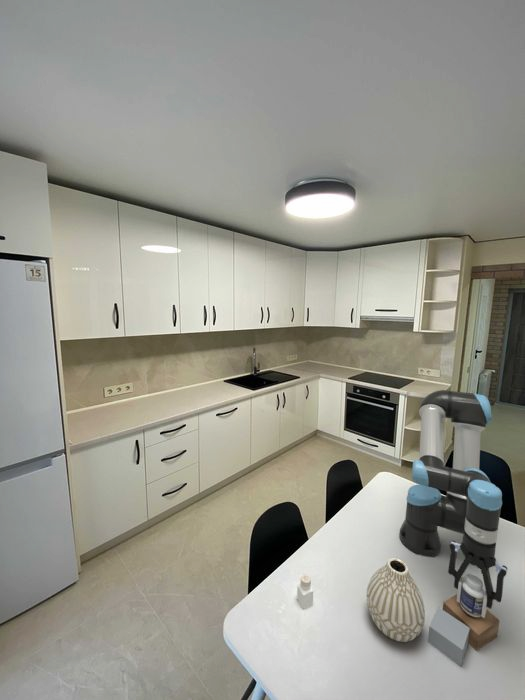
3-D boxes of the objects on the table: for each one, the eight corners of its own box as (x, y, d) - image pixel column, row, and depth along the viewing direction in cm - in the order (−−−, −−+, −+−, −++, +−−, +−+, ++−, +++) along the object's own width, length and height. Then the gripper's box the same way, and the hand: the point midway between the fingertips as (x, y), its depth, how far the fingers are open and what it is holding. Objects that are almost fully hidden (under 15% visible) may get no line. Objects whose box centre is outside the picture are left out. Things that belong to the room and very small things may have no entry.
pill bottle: (475, 621, 83) (479, 591, 81) (456, 604, 87) (459, 576, 86) (485, 612, 85) (489, 583, 84) (466, 596, 90) (469, 568, 89)
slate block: (427, 644, 83) (429, 626, 82) (436, 624, 88) (438, 606, 87) (460, 669, 77) (462, 650, 76) (467, 646, 82) (470, 628, 81)
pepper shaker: (296, 600, 94) (297, 575, 93) (306, 596, 96) (307, 570, 95) (302, 612, 91) (303, 585, 89) (313, 607, 92) (314, 581, 91)
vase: (358, 597, 96) (362, 542, 93) (407, 599, 95) (412, 544, 93) (375, 653, 80) (380, 589, 77) (434, 656, 80) (440, 592, 77)
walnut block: (441, 619, 90) (443, 602, 89) (461, 606, 94) (463, 589, 93) (476, 653, 81) (478, 635, 80) (497, 637, 85) (499, 620, 84)
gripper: (439, 524, 87) (432, 592, 90) (520, 563, 74) (509, 641, 77) (446, 513, 92) (440, 578, 95) (523, 547, 79) (513, 621, 82)
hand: (471, 606), depth 86 cm, fingers closed on pill bottle, 5 cm apart
